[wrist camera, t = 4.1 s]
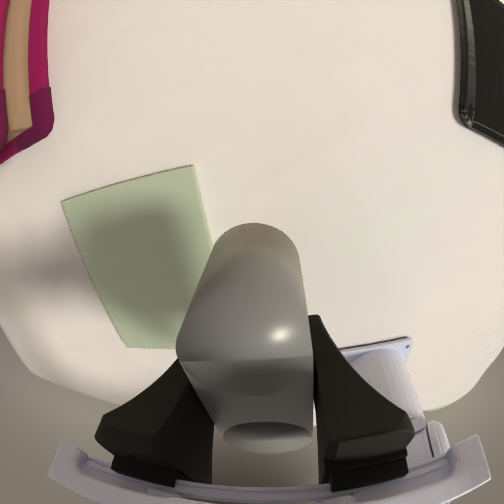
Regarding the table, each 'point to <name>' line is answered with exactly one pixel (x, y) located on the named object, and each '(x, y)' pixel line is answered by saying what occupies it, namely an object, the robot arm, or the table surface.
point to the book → (23, 76)
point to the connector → (252, 341)
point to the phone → (482, 67)
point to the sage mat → (144, 251)
